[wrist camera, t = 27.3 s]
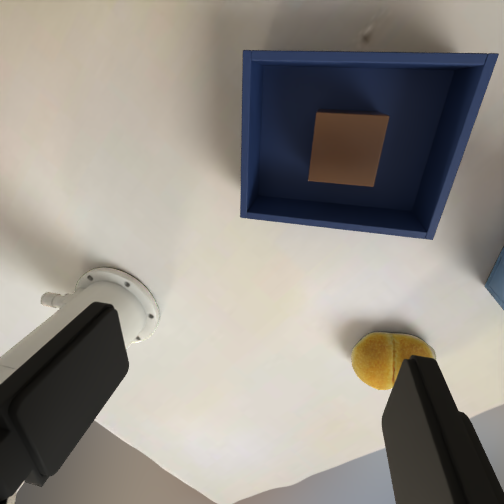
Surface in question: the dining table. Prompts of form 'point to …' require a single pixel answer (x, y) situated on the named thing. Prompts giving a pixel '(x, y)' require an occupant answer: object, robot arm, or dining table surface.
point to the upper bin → (497, 280)
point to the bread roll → (385, 357)
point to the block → (347, 146)
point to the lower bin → (359, 99)
